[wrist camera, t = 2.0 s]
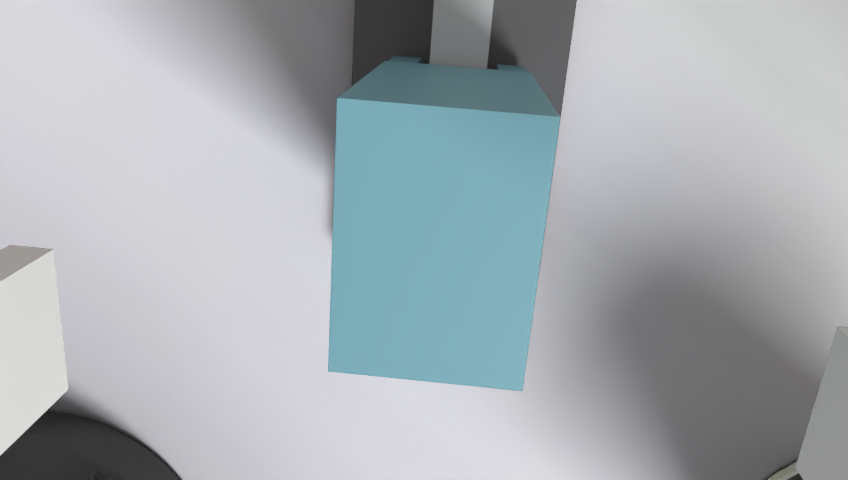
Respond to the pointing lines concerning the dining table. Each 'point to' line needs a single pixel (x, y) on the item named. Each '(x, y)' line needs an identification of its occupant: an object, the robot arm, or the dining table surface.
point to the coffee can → (787, 474)
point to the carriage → (439, 222)
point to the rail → (510, 45)
